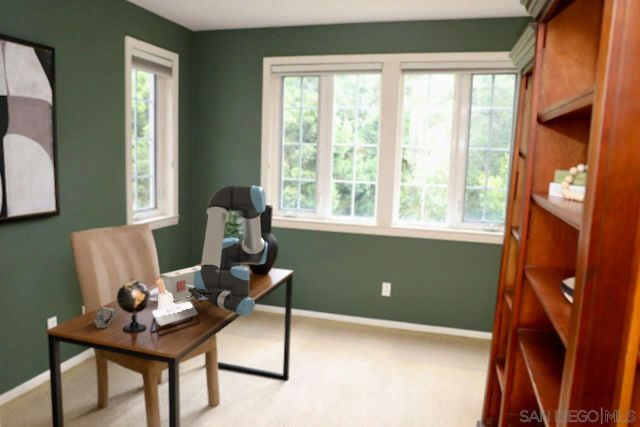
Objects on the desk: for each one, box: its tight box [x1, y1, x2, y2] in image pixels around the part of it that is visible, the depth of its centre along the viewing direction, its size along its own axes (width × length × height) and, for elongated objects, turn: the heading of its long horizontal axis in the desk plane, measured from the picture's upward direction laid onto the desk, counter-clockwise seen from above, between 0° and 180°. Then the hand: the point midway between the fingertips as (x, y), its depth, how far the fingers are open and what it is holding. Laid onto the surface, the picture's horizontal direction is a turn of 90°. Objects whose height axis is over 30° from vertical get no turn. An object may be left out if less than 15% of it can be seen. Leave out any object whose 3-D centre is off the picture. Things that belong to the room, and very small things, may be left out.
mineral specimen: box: [93, 306, 120, 329], centre depth 181 cm, size 10×8×10 cm
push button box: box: [159, 265, 201, 303], centre depth 221 cm, size 30×7×12 cm, turn 145°
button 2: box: [177, 281, 186, 292], centre depth 213 cm, size 4×6×4 cm
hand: (186, 287), depth 209 cm, fingers closed
